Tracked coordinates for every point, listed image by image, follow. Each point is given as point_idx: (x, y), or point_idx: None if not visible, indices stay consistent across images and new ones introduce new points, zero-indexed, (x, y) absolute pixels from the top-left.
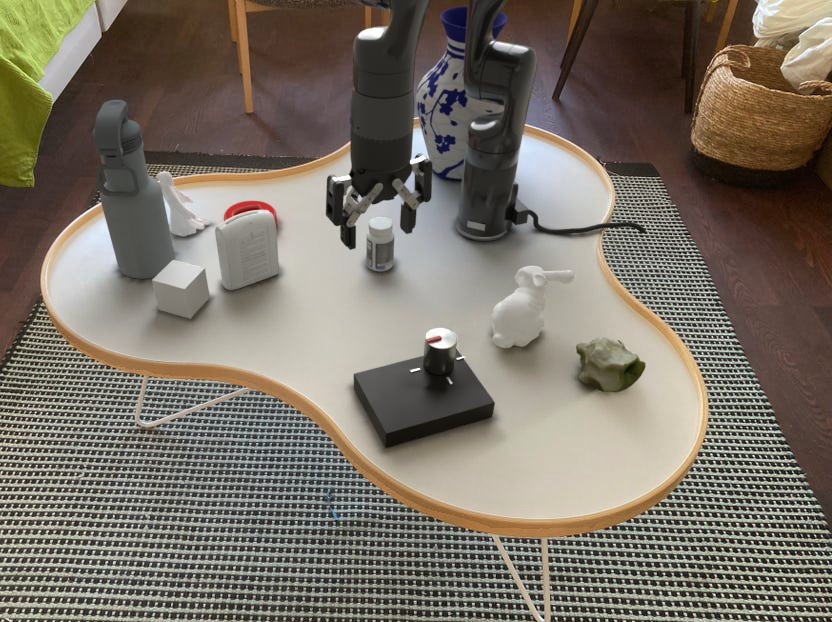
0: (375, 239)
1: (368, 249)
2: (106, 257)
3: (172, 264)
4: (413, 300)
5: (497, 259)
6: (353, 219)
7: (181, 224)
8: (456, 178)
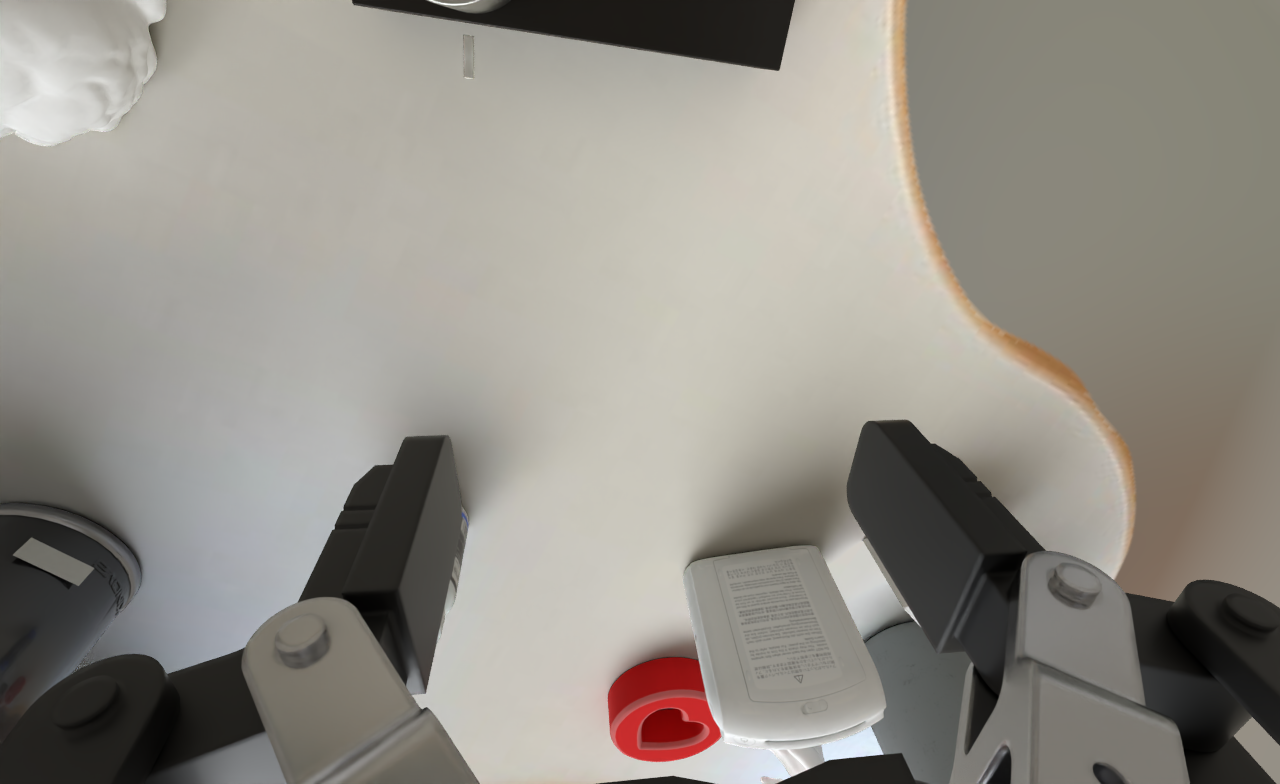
0: None
1: (459, 561)
2: None
3: None
4: (394, 357)
5: (29, 425)
6: (1068, 614)
7: None
8: None
